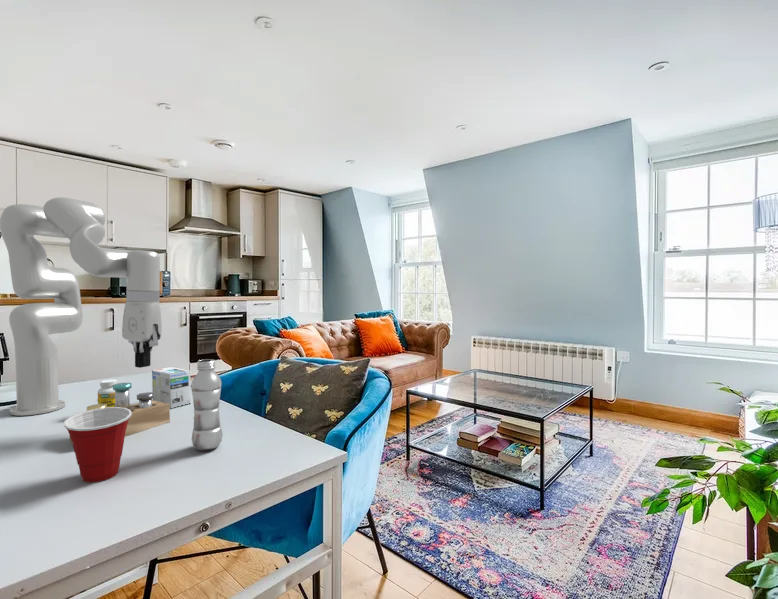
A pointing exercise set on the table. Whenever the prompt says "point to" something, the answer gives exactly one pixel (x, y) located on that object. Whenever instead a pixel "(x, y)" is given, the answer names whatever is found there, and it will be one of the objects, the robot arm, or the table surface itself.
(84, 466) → the plastic cup
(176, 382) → the light bulb box
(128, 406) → the plug teal
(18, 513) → the table surface
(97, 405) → the plug brass
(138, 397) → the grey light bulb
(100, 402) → the supplement bottle
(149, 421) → the oak block
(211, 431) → the plastic bottle
